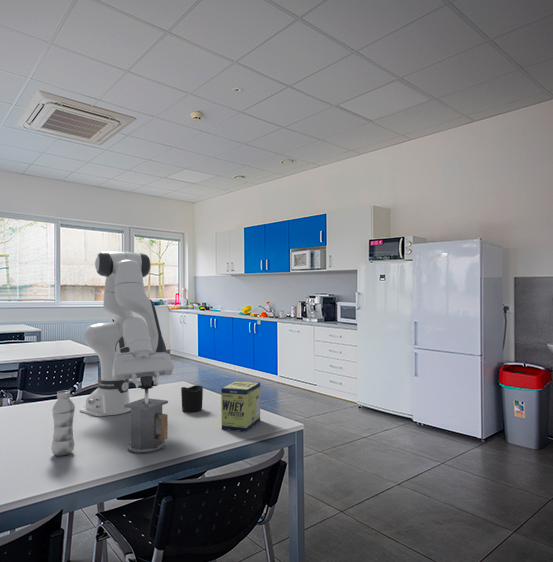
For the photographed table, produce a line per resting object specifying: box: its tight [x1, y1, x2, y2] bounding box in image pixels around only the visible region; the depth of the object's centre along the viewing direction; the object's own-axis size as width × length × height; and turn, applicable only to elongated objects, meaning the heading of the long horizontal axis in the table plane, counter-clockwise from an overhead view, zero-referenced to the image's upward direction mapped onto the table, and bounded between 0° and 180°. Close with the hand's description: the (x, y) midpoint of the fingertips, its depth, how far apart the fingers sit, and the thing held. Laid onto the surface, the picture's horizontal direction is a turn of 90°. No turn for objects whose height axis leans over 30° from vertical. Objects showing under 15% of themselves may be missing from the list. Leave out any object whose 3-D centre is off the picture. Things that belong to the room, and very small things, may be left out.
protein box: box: [220, 380, 261, 432], centre depth 168 cm, size 10×16×16 cm
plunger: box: [139, 376, 154, 404], centre depth 145 cm, size 8×8×18 cm
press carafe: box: [124, 397, 169, 455], centre depth 144 cm, size 14×12×15 cm
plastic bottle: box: [51, 390, 76, 457], centre depth 138 cm, size 6×7×20 cm
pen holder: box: [180, 384, 204, 414], centre depth 189 cm, size 9×9×10 cm
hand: (147, 386), depth 144 cm, fingers closed on plunger, 4 cm apart
